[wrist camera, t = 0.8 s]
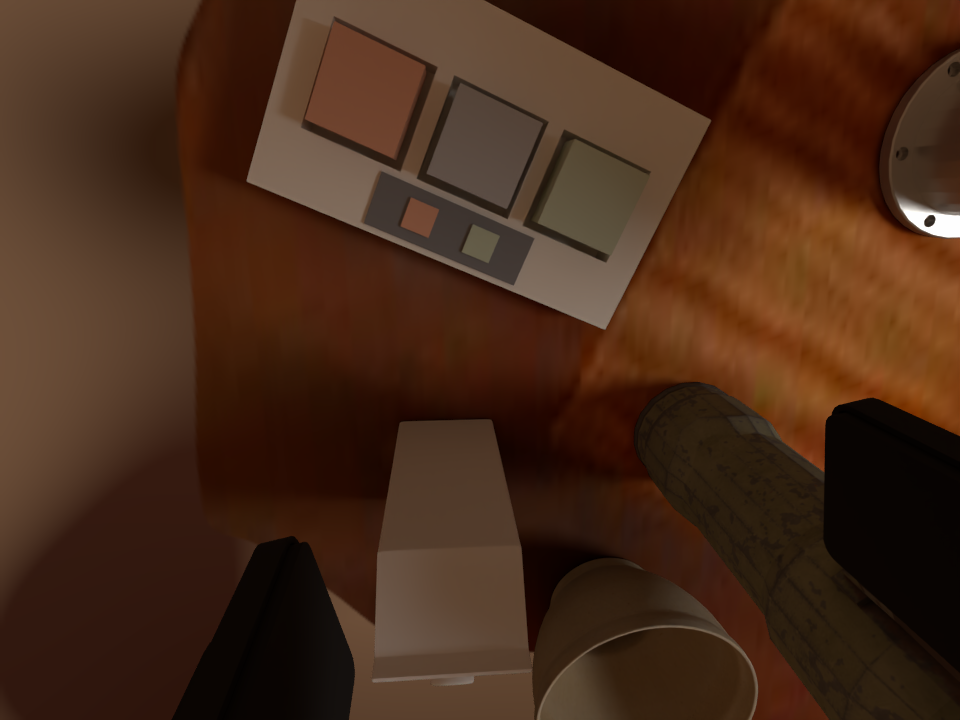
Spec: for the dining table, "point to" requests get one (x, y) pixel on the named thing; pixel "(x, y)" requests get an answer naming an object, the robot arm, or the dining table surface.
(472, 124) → the grey key
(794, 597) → the thermos
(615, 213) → the sage key
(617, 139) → the keypad
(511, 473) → the dining table surface
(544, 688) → the planter bowl
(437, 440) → the milk carton
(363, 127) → the terracotta key
